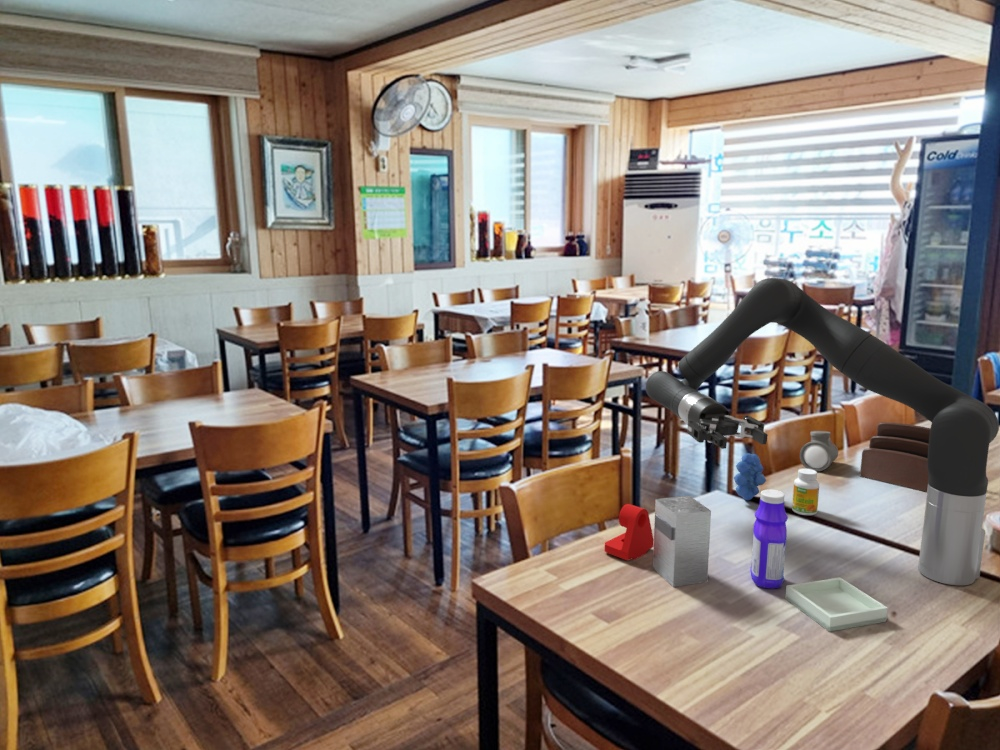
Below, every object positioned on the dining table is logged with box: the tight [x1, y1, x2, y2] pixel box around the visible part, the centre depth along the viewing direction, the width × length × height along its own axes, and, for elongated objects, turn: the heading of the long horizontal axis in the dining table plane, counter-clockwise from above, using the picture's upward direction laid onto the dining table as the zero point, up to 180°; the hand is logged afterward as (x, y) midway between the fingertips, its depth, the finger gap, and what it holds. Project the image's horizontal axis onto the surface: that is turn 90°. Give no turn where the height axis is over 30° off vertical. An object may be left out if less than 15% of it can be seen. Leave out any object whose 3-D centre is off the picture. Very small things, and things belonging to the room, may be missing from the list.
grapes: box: [733, 452, 767, 501], centre depth 175 cm, size 12×7×12 cm, turn 135°
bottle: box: [750, 488, 789, 589], centre depth 135 cm, size 7×6×17 cm
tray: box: [785, 577, 888, 633], centre depth 126 cm, size 11×11×2 cm
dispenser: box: [652, 494, 712, 588], centre depth 138 cm, size 8×8×14 cm
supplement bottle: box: [791, 468, 820, 516], centre depth 168 cm, size 5×5×10 cm
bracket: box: [603, 503, 654, 562], centre depth 148 cm, size 9×6×10 cm
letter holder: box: [859, 422, 931, 493], centre depth 187 cm, size 10×20×14 cm, turn 43°
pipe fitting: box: [799, 430, 839, 473], centre depth 200 cm, size 12×8×10 cm
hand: (745, 441), depth 140 cm, fingers open, 8 cm apart
